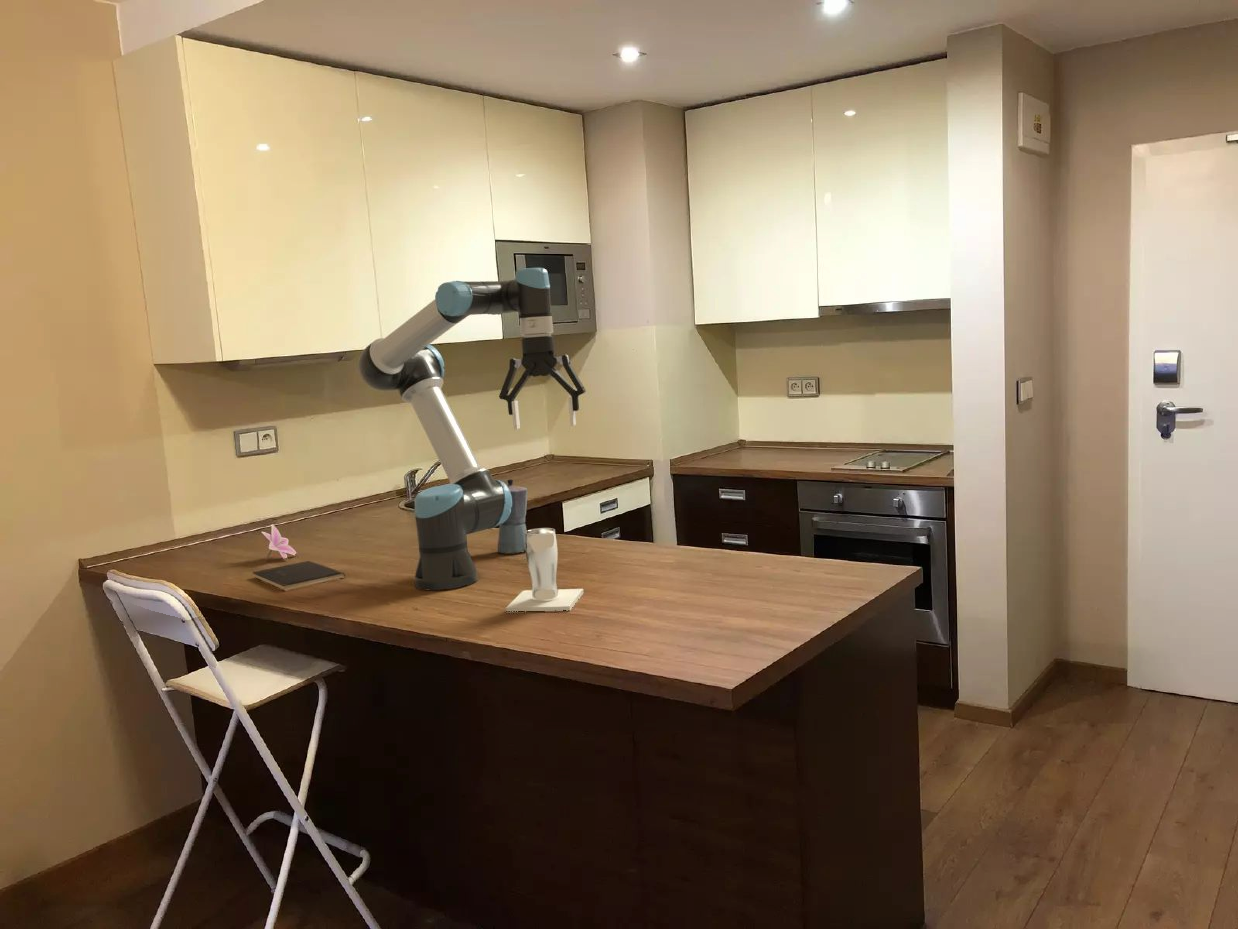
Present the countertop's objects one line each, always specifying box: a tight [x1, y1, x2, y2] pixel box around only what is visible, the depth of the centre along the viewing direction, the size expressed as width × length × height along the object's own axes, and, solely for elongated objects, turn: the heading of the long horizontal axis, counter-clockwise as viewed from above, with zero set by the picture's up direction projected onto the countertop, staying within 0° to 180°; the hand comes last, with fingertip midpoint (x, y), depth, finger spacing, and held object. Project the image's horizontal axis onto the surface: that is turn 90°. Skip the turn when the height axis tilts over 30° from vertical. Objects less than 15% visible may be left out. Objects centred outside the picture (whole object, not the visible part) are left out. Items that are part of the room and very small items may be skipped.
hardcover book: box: [252, 560, 346, 589], centre depth 257 cm, size 16×23×2 cm
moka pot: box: [497, 479, 528, 555], centre depth 269 cm, size 10×15×20 cm, turn 161°
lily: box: [261, 523, 297, 559], centre depth 283 cm, size 12×12×10 cm
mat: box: [505, 588, 585, 613], centre depth 215 cm, size 14×14×1 cm
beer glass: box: [524, 527, 559, 602], centre depth 214 cm, size 7×7×15 cm
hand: (545, 427), depth 230 cm, fingers open, 13 cm apart
